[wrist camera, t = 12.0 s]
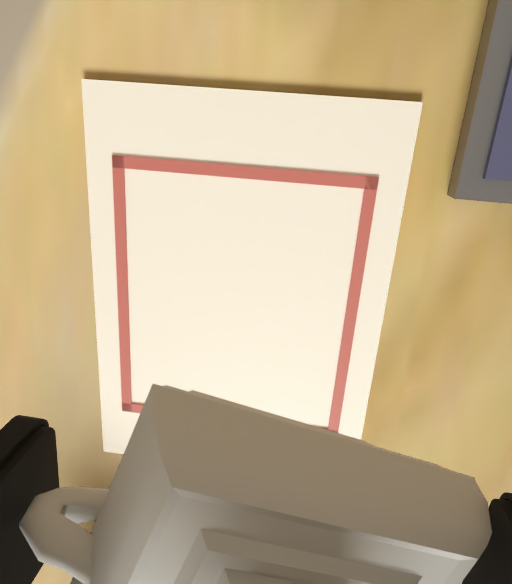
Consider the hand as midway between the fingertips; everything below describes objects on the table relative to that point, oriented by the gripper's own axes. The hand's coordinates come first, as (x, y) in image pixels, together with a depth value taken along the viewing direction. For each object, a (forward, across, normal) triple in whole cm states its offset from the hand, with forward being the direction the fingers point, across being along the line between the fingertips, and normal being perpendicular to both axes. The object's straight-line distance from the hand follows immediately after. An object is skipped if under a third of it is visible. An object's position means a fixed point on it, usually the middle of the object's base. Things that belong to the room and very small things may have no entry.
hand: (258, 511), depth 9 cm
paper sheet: (+16, +3, +2) cm, 16 cm away
